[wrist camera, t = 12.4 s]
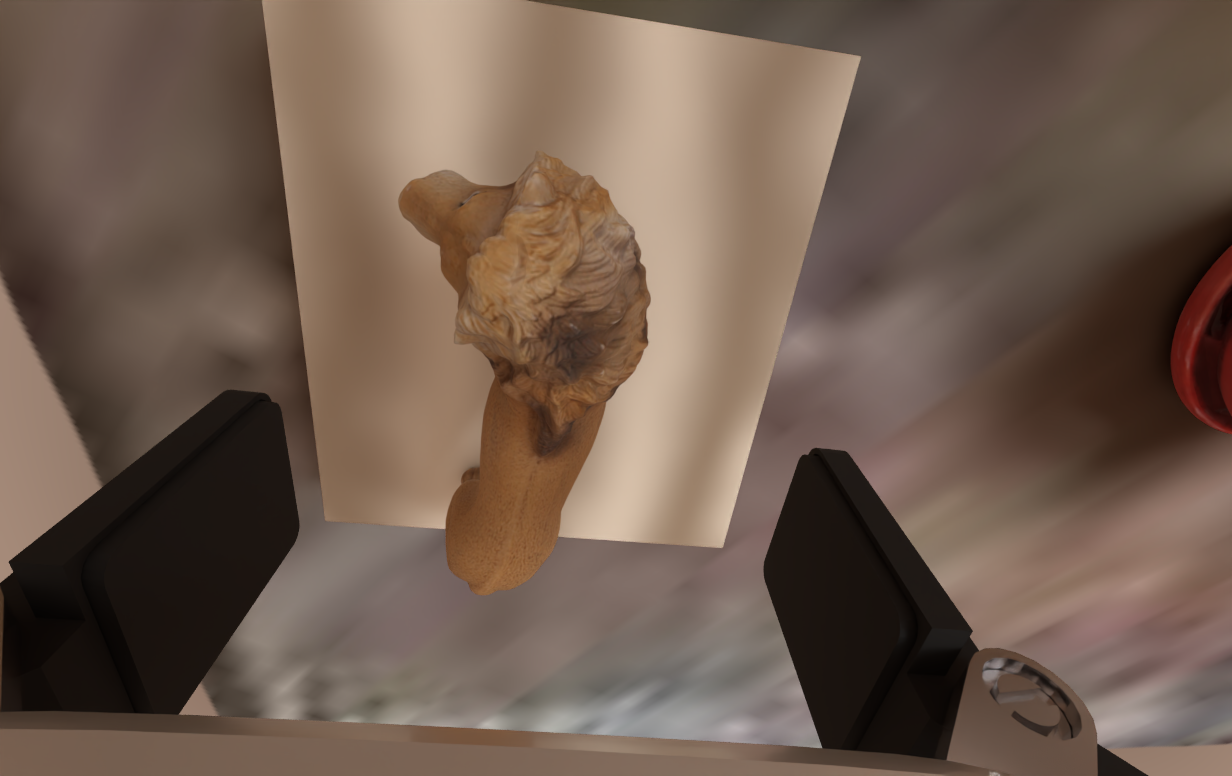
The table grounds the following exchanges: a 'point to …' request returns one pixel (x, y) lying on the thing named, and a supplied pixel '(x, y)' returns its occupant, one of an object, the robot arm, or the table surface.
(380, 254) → the birch plinth
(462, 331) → the lion figurine
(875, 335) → the table surface
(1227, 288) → the plant pot
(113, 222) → the table surface
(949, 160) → the table surface
